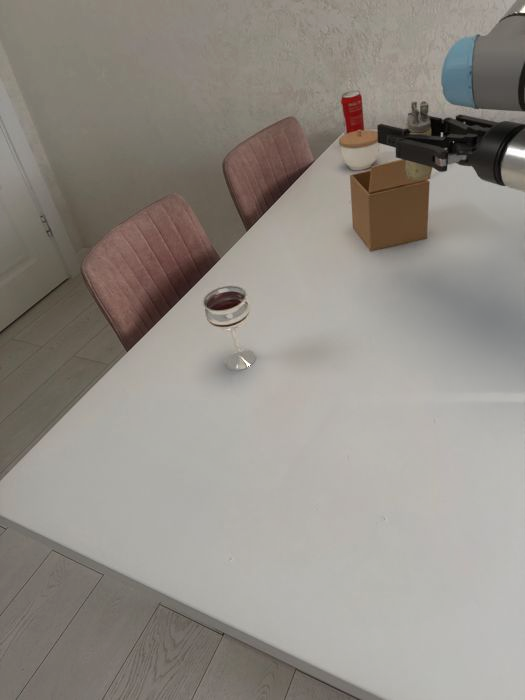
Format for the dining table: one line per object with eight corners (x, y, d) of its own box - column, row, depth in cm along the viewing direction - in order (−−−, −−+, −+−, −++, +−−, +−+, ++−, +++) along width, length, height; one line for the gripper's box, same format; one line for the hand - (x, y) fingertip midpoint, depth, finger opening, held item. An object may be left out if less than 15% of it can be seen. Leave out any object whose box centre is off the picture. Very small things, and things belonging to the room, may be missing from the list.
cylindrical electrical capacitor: (430, 179, 77) (433, 110, 71) (405, 181, 78) (406, 114, 72) (426, 162, 82) (428, 97, 76) (402, 165, 83) (403, 100, 77)
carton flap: (429, 177, 93) (429, 179, 93) (368, 191, 92) (369, 192, 92) (435, 151, 88) (436, 152, 88) (371, 166, 88) (371, 167, 87)
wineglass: (269, 352, 81) (256, 290, 73) (244, 378, 77) (228, 315, 69) (236, 342, 84) (220, 282, 77) (211, 366, 80) (192, 305, 73)
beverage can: (367, 143, 149) (365, 88, 140) (361, 151, 145) (358, 95, 136) (348, 143, 152) (345, 90, 142) (341, 151, 147) (338, 96, 138)
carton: (427, 238, 100) (429, 181, 93) (370, 251, 100) (368, 195, 93) (404, 215, 110) (405, 162, 102) (352, 227, 109) (349, 174, 102)
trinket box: (332, 169, 137) (330, 134, 132) (358, 156, 142) (357, 121, 136) (362, 176, 130) (361, 139, 125) (389, 162, 135) (388, 125, 129)
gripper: (462, 209, 63) (349, 169, 80) (562, 163, 68) (437, 134, 85) (467, 149, 58) (346, 119, 75) (574, 104, 64) (439, 86, 80)
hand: (394, 127), depth 80 cm, fingers closed on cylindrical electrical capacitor, 6 cm apart
